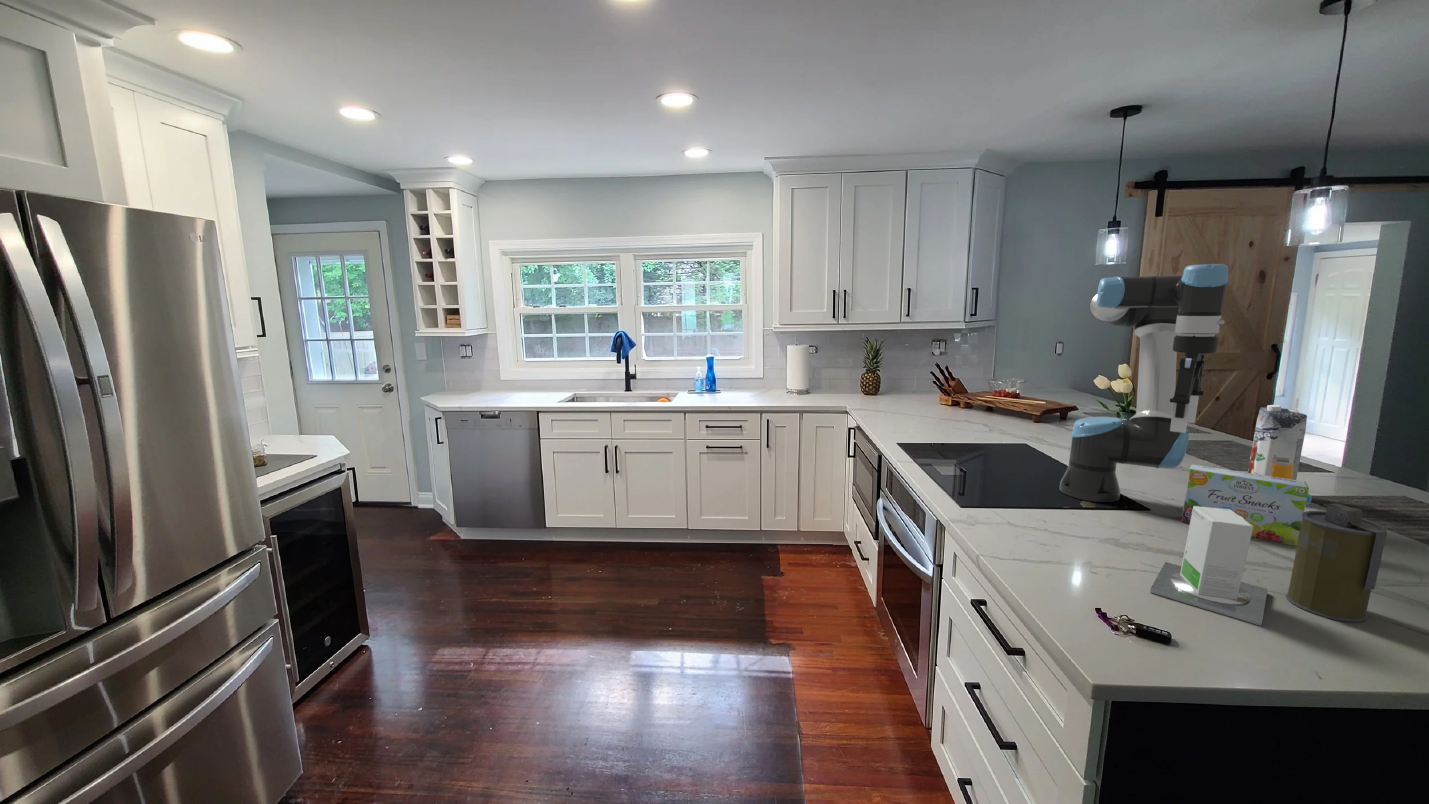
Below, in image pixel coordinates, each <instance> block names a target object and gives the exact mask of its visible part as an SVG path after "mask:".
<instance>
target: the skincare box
mask: <svg viewBox="0 0 1429 804" xmlns="http://www.w3.org/2000/svg"><path fill="white" fill-rule="evenodd" d="M1252 531H1253V526H1252V525H1251V524H1249V523H1248V522H1246V521H1245V520H1244V518H1243V517H1241V516H1239V515H1237V514H1236V513H1234V512H1233V511H1232V510H1230V509H1220V508H1209V507H1199V506H1193V510H1192V516H1191V521H1190V524H1189V526H1188V533H1187V538H1186V542H1185V548H1184V552H1183V557H1182V563H1181V566H1182V567H1181V572H1180V575H1181V576H1182V577H1183V578H1184V580H1185V581H1186V582H1187V583H1188V584H1189V585H1190V586H1191V587H1192V588H1193V589H1194V590H1195V591H1196V593H1197V594H1199V595H1205V596H1213V597H1220V598H1228V599H1235V600H1237V598H1238V593H1239V588H1240V584H1241V582H1242V579H1243V575H1244V571H1245V570H1244V569H1245V565H1246V561H1247V556H1248V551H1249V548H1250V543H1251V541H1252V537H1251V535H1252Z"/></svg>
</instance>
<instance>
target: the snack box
mask: <svg viewBox="0 0 1429 804" xmlns="http://www.w3.org/2000/svg"><path fill="white" fill-rule="evenodd" d="M1309 489H1310V488H1309V485H1308V483H1307V481H1305V480H1298V479H1296V480H1292V479H1285V478H1279V477H1272V476H1265V475H1259V474H1252V473H1248V472H1244V471H1240V470H1239V471H1238V470H1231V469H1226V468H1225V469H1224V468H1217V467H1212V466H1205V465H1199V464H1198V465H1197V464H1190V466H1189V470H1188V476H1187V485H1186V490H1185V497H1184V502H1183V508H1182V515H1181V521H1180V522H1181V523H1184V524H1189V525H1190V521H1191V516H1192V510H1193V506H1199V507H1209V508H1220V509H1230V510H1232V511H1233V512H1234V513H1236V514H1237V515H1239V516H1241V517H1243V518H1244V520H1245V521H1246V522H1248V523H1249V524H1251V525H1252V526H1253V531H1252V535H1251V538H1256V537H1257V539H1261V538H1263V539H1262V540H1266V539H1267V541H1270V540H1272V541H1271V542H1275V541H1277V542H1276V543H1280V542H1281V544H1286V545H1289V546H1294V545H1295V546H1296V547H1297V544H1298V539H1299V534H1300V529H1301V524H1302V519H1303V517H1302V513H1303V512H1305V509H1306V506H1307V505H1306V500H1307V496H1308V493H1309Z"/></svg>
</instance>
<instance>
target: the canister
mask: <svg viewBox="0 0 1429 804" xmlns="http://www.w3.org/2000/svg"><path fill="white" fill-rule="evenodd" d="M1323 507H1324V508H1325V507H1326V511H1324V510H1307V511H1304V512H1303V513H1302V517H1303V519H1302V524H1301V529H1300V534H1299V539H1298V543H1297V546H1296V549H1295V555H1294V560H1293V566H1292V570H1291V577H1290V582H1289V585H1288V590H1287V592H1286V594H1285V597H1286V599H1287V601H1289V602H1290V603H1291V604H1293V605H1294V606H1296V607H1297V608H1299V609H1302V610H1304V611H1305V612H1308V613H1311V614H1314V615H1317V616H1319V617H1322V618H1326V619H1330V620H1334V621H1342V622H1349V623H1361V622H1364V621H1367V618H1368V614H1367V612H1368V606H1369V603H1370V597H1371V593H1372V590H1373V591H1374V590H1375V588H1376V584H1377V579H1378V575H1379V570H1380V566H1381V563H1382V562H1381V561H1382V557H1383V553H1384V549H1385V548H1384V547H1385V544H1386V540H1387V537H1388V535H1387V534H1388V533H1387V529H1386V527H1384V526H1383V525H1382V524H1379V523H1377V522H1375V521H1372V520H1369V519H1366V518H1363V510H1362V509H1359V508H1356V507H1350V506H1347V505H1344V504H1341V503H1325V504H1323Z"/></svg>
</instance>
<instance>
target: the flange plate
mask: <svg viewBox="0 0 1429 804" xmlns="http://www.w3.org/2000/svg"><path fill="white" fill-rule="evenodd" d="M1181 567H1182V565H1178V564H1175V563H1171V562H1167V561H1165V562H1164V563H1163V565H1162V567H1161V569H1160V571H1159V573H1158V575H1157V576H1156V578H1155V580H1154V582H1153V583H1152V584H1151V586H1150V594H1153V595H1157V596H1160V597H1163V598H1167V599H1171V600H1174V601H1177V602H1179V603H1184V604H1187V605H1190V606H1192V607H1193V606H1194V607H1197V608H1200V609H1204V610H1208V611H1209V612H1214V613H1217V614H1220V615H1224V616H1227V617H1230V618H1233V619H1236V620H1240V621H1243V622H1246V623H1250V624H1253V625H1256V626H1261V627H1262V625H1263V620H1264V615H1265V607H1266V601H1267V595H1268V588H1266V587H1262V586H1259V585H1254V584H1251V583H1247V582H1243V581H1241V584H1240V588H1239V593H1238V598H1237V600H1235V599H1228V598H1220V597H1213V596H1205V595H1199V594H1197V593H1196V591H1195V590H1194V589H1193V588H1192V587H1191V586H1190V585H1189V584H1188V583H1187V582H1186V581H1185V580H1184V578H1183V577H1182V576H1181V575H1180V572H1181Z"/></svg>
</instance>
